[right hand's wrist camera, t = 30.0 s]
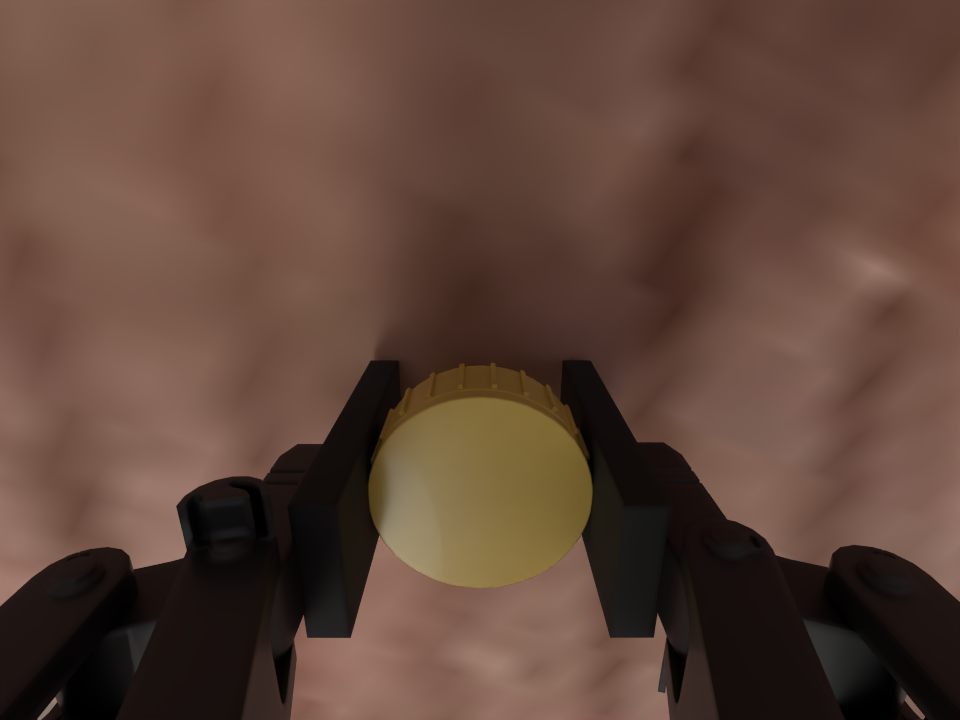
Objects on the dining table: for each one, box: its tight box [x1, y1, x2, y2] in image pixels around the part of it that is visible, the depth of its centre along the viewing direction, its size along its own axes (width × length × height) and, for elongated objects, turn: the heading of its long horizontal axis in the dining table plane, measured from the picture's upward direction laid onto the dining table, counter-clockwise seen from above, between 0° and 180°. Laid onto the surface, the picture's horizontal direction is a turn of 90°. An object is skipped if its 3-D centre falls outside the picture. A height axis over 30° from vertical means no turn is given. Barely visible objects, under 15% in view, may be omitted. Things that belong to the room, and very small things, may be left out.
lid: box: [368, 363, 593, 588], centre depth 11 cm, size 5×5×2 cm
